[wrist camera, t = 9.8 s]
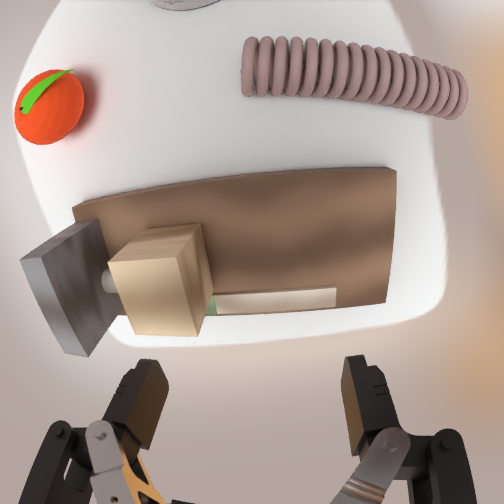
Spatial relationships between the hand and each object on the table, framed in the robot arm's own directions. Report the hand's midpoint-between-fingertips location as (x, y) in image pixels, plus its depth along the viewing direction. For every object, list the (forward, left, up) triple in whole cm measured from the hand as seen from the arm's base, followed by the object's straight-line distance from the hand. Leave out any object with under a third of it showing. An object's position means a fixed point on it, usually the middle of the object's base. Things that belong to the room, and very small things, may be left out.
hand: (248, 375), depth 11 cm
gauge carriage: (+1, -8, -12) cm, 15 cm away
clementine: (-16, -16, -15) cm, 27 cm away
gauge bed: (0, -3, -14) cm, 15 cm away
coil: (-13, +9, -15) cm, 22 cm away
